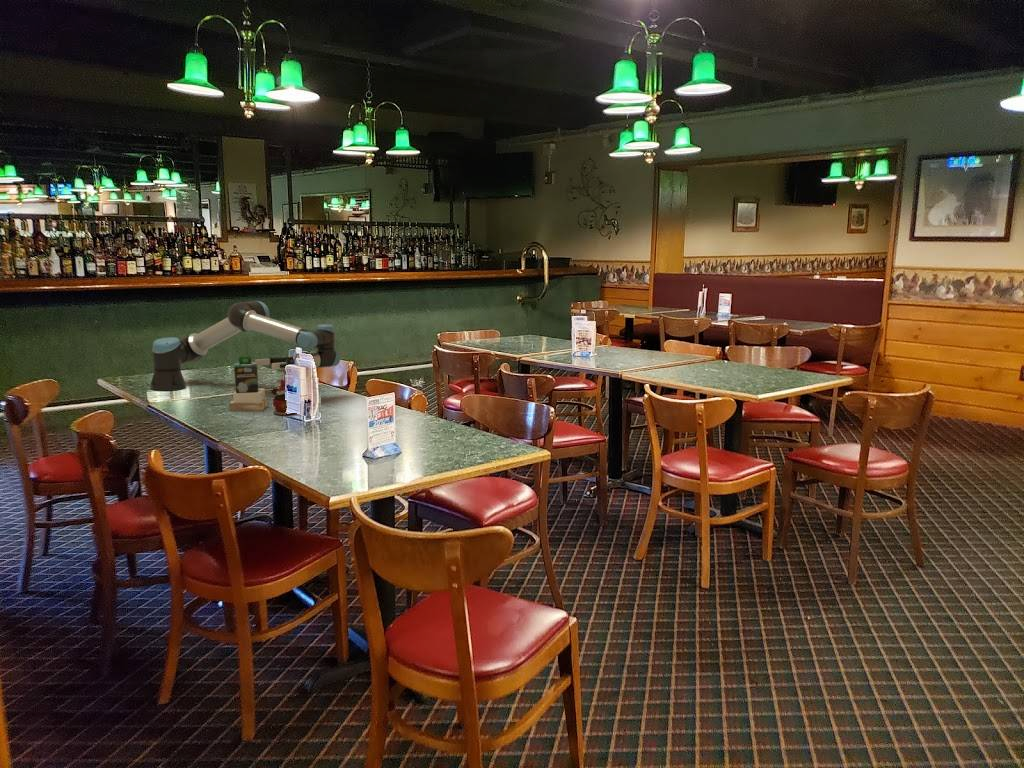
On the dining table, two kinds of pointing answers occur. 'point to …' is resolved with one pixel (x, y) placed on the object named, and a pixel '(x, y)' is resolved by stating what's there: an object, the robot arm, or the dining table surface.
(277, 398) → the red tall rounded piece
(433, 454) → the dining table surface
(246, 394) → the tower top
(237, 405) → the tower base
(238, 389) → the chalk box
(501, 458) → the dining table surface
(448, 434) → the dining table surface
